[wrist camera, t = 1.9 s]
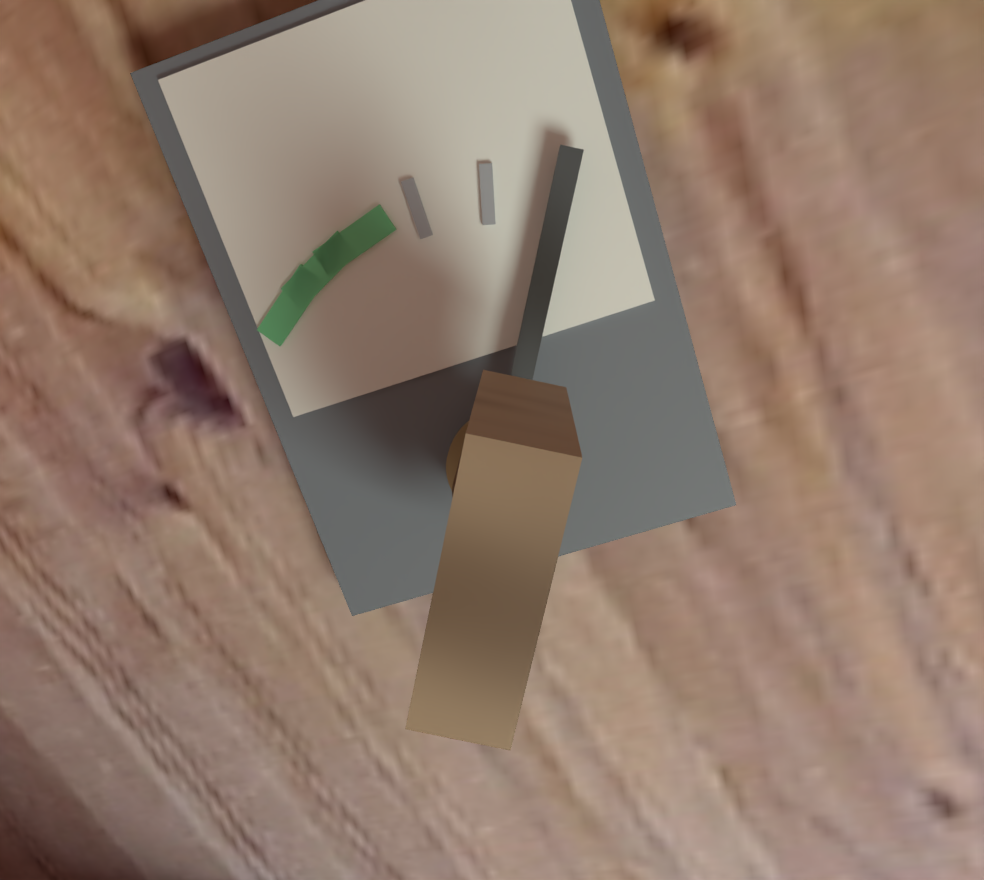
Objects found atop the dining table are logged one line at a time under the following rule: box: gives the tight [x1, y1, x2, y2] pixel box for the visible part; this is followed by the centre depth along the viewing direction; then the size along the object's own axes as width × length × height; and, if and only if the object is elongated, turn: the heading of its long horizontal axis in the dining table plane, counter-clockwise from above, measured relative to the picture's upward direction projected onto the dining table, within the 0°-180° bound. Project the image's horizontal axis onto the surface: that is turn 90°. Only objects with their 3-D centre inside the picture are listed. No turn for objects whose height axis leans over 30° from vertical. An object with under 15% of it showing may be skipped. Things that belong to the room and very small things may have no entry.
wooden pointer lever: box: [405, 145, 584, 750], centre depth 22 cm, size 14×4×10 cm, turn 168°
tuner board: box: [130, 0, 736, 616], centre depth 27 cm, size 14×19×2 cm
